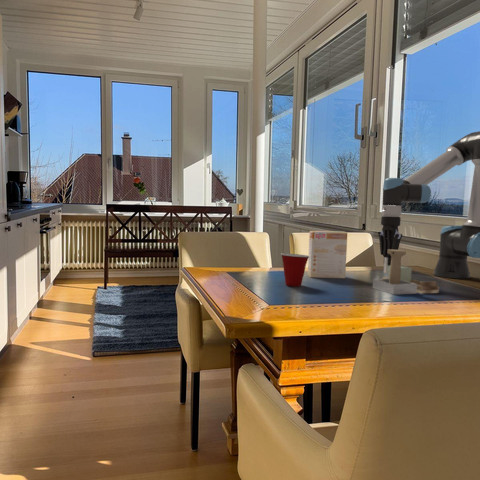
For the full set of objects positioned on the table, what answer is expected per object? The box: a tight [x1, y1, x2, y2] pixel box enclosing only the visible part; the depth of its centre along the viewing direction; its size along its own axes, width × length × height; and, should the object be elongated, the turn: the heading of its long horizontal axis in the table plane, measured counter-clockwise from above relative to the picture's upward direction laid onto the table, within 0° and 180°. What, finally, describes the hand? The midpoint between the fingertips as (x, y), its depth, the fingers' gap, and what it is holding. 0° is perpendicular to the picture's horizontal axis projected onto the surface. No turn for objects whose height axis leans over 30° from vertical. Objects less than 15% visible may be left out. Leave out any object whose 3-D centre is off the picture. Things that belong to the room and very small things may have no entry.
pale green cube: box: [387, 264, 413, 282], centre depth 178 cm, size 6×6×6 cm
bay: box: [382, 276, 440, 294], centre depth 173 cm, size 8×22×4 cm, turn 19°
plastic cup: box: [280, 252, 310, 287], centre depth 168 cm, size 11×11×12 cm
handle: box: [387, 249, 407, 284], centre depth 164 cm, size 5×6×15 cm
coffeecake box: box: [307, 230, 348, 279], centre depth 191 cm, size 15×7×20 cm, turn 92°
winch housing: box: [372, 278, 418, 296], centre depth 164 cm, size 10×12×4 cm
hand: (387, 272), depth 185 cm, fingers closed
